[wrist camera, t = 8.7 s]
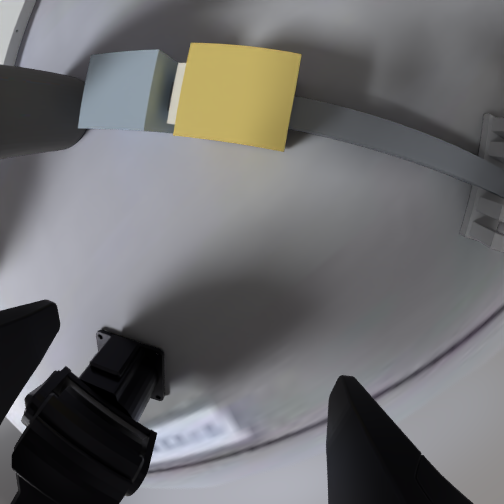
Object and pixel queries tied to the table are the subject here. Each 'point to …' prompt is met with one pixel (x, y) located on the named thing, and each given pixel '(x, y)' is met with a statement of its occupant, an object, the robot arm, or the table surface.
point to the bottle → (38, 111)
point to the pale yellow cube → (237, 94)
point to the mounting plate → (13, 27)
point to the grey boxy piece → (484, 202)
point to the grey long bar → (302, 119)
